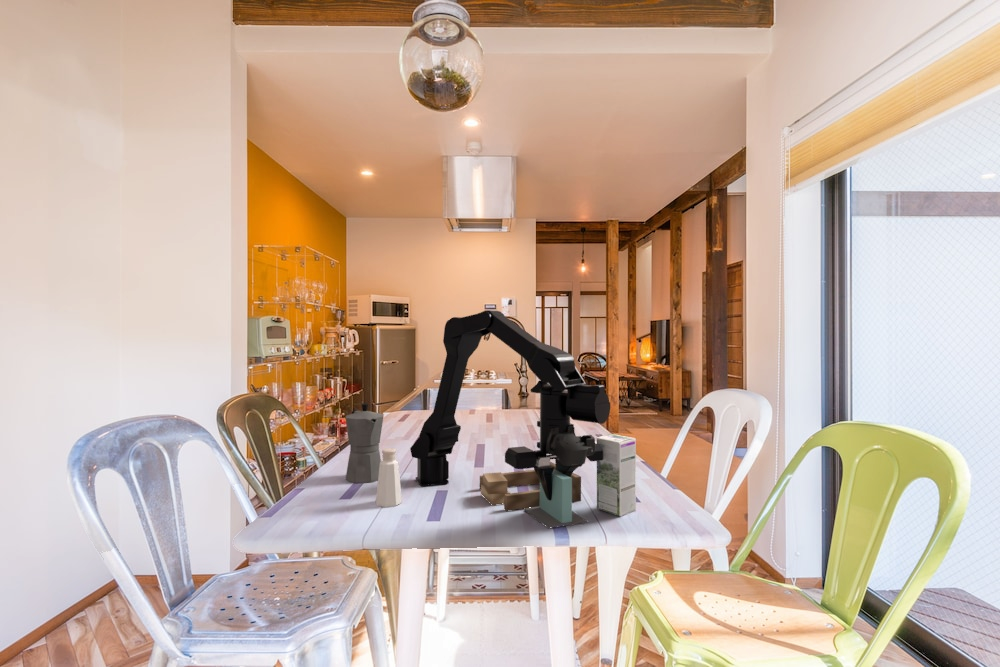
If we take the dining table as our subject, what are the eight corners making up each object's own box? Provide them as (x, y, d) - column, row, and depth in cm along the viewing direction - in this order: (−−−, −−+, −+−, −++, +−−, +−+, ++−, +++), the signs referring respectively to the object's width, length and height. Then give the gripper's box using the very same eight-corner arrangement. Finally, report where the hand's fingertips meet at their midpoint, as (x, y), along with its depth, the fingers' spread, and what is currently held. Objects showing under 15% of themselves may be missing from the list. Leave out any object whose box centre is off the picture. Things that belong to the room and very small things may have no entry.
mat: (548, 528, 89) (548, 526, 89) (524, 510, 98) (524, 508, 98) (587, 522, 92) (587, 520, 92) (560, 505, 101) (560, 503, 101)
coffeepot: (393, 481, 118) (394, 405, 118) (354, 488, 112) (354, 408, 112) (370, 467, 130) (370, 398, 130) (334, 472, 125) (334, 400, 125)
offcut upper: (488, 494, 102) (488, 482, 102) (483, 485, 108) (483, 473, 108) (507, 493, 102) (507, 480, 102) (501, 483, 109) (501, 472, 109)
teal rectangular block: (562, 523, 91) (562, 479, 91) (539, 507, 99) (539, 467, 99) (571, 521, 91) (571, 478, 91) (548, 506, 100) (548, 466, 100)
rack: (506, 511, 98) (506, 485, 98) (479, 489, 112) (479, 466, 112) (581, 500, 104) (581, 476, 104) (546, 480, 118) (546, 459, 118)
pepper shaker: (393, 496, 106) (393, 445, 106) (407, 503, 102) (407, 449, 102) (370, 502, 102) (370, 449, 103) (384, 509, 99) (384, 453, 99)
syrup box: (637, 510, 99) (637, 437, 99) (619, 517, 95) (619, 441, 95) (613, 502, 103) (613, 432, 103) (595, 509, 99) (595, 436, 99)
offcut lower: (492, 507, 101) (492, 494, 101) (480, 496, 108) (480, 485, 108) (510, 504, 103) (510, 492, 103) (498, 494, 109) (498, 483, 109)
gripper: (529, 428, 84) (529, 520, 84) (621, 421, 92) (620, 506, 91) (503, 417, 95) (503, 500, 95) (587, 412, 102) (587, 488, 102)
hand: (554, 499), depth 95 cm, fingers closed on teal rectangular block, 2 cm apart
